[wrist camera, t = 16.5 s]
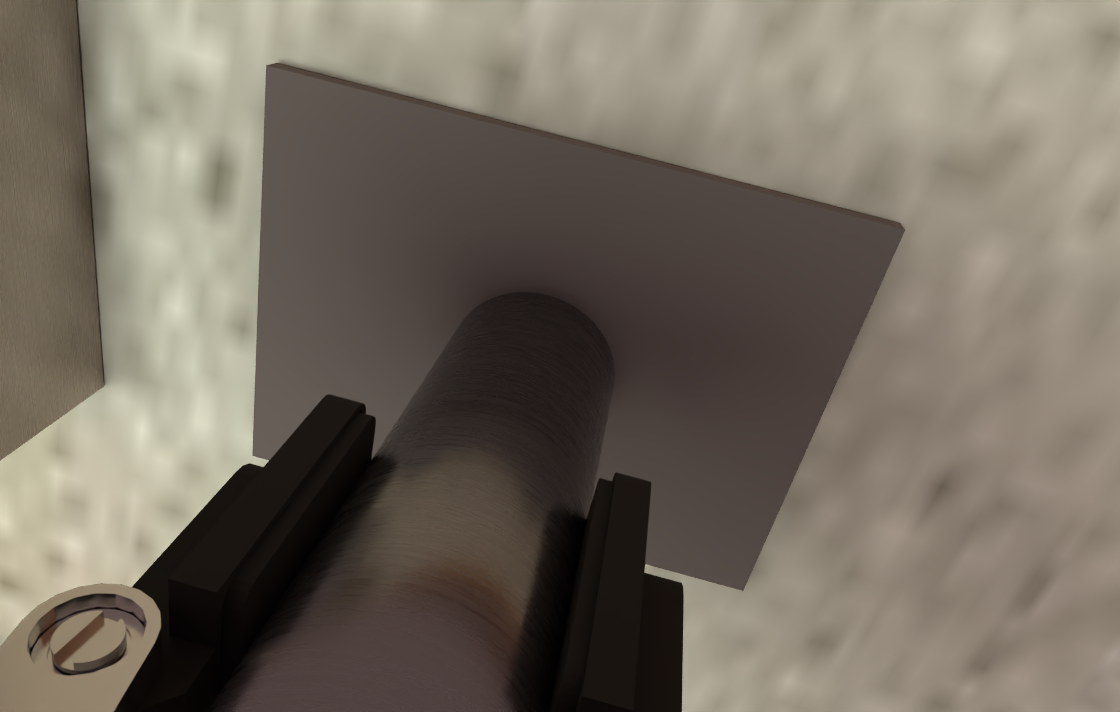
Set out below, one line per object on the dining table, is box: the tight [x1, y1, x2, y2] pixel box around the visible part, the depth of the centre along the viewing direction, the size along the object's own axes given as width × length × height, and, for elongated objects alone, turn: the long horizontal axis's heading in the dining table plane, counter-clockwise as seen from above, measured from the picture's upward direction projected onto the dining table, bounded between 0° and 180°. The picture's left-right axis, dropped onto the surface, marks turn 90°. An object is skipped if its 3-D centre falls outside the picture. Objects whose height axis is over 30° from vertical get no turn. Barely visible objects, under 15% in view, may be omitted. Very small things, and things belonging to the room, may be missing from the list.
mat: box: [253, 63, 905, 591], centre depth 16 cm, size 12×9×1 cm
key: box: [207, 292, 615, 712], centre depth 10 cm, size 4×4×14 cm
